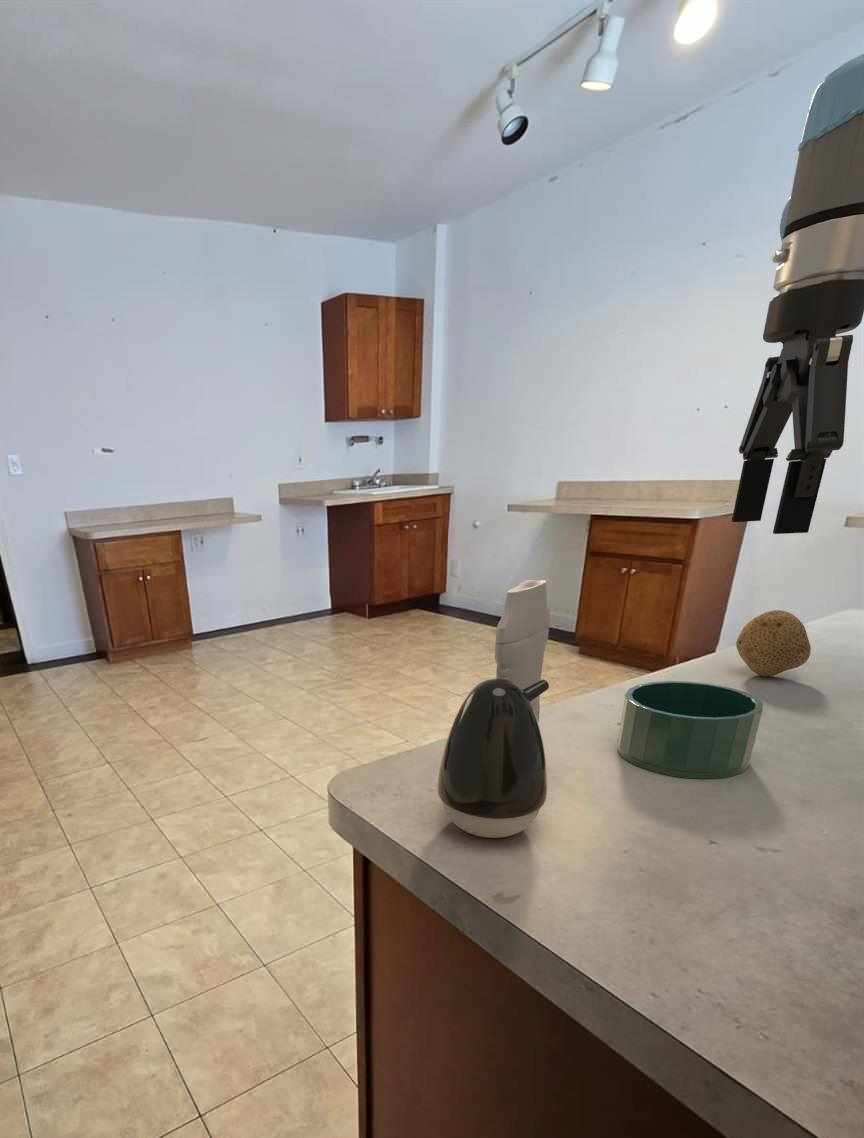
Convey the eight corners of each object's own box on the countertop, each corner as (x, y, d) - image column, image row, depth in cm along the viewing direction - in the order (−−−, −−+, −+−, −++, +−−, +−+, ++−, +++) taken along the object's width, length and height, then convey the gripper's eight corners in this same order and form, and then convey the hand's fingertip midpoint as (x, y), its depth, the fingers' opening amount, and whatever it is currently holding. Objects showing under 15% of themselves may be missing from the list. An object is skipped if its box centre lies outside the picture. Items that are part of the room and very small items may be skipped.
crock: (729, 736, 79) (742, 682, 76) (765, 783, 68) (782, 722, 65) (610, 731, 83) (618, 679, 80) (625, 774, 72) (635, 716, 69)
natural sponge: (719, 666, 104) (733, 605, 100) (781, 666, 102) (798, 603, 98) (743, 683, 96) (759, 617, 92) (811, 683, 94) (830, 615, 90)
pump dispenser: (567, 838, 61) (587, 685, 54) (470, 861, 58) (479, 704, 52) (505, 793, 70) (515, 658, 63) (419, 812, 67) (421, 673, 61)
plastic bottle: (516, 756, 78) (532, 571, 69) (548, 764, 76) (570, 573, 66) (471, 786, 72) (482, 587, 63) (505, 797, 69) (522, 590, 60)
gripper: (733, 317, 72) (696, 519, 80) (829, 258, 50) (765, 541, 59) (813, 307, 69) (766, 515, 78) (949, 239, 48) (864, 537, 57)
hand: (765, 527), depth 69 cm, fingers open, 13 cm apart
